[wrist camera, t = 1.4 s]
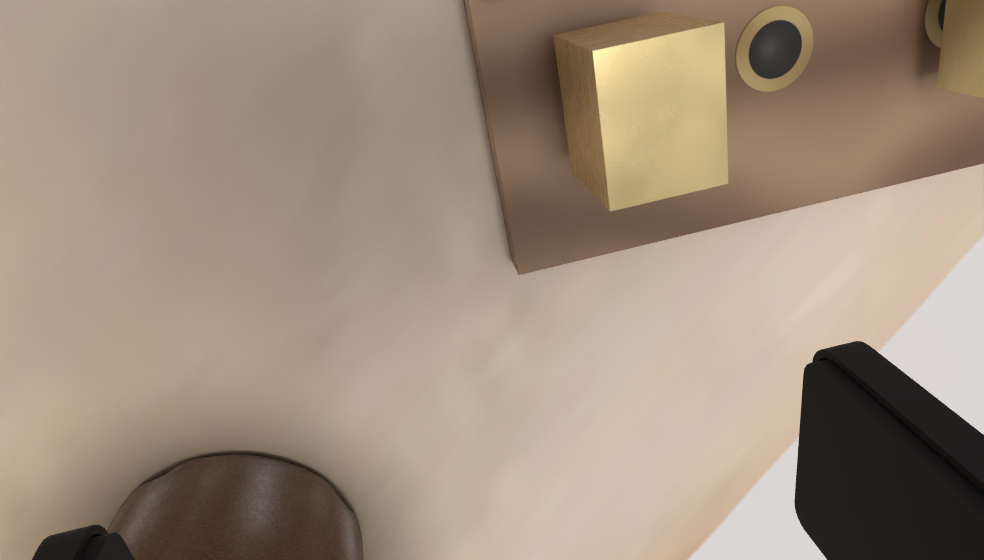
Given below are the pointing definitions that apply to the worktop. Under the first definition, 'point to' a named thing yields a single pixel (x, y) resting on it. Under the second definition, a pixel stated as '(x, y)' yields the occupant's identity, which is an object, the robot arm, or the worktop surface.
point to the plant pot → (238, 514)
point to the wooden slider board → (738, 112)
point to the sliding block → (645, 107)
